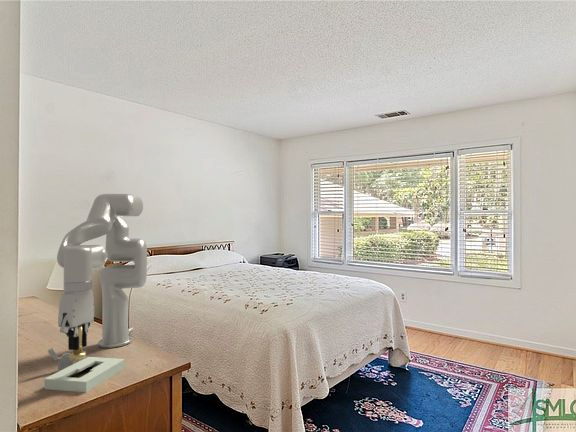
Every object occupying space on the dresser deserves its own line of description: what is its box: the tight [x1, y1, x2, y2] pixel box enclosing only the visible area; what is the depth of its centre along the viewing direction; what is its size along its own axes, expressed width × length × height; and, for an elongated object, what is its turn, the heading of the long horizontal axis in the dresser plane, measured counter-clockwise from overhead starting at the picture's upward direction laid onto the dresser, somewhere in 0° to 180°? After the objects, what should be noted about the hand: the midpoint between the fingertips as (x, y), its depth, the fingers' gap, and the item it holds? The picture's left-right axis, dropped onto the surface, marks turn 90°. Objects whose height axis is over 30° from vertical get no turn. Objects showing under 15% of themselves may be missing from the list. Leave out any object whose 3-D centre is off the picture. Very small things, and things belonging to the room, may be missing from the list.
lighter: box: [47, 347, 74, 372], centre depth 121 cm, size 7×2×8 cm, turn 127°
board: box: [43, 356, 126, 393], centre depth 115 cm, size 18×14×3 cm
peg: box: [69, 325, 87, 362], centre depth 111 cm, size 4×4×10 cm
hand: (77, 347), depth 111 cm, fingers closed on peg, 2 cm apart
